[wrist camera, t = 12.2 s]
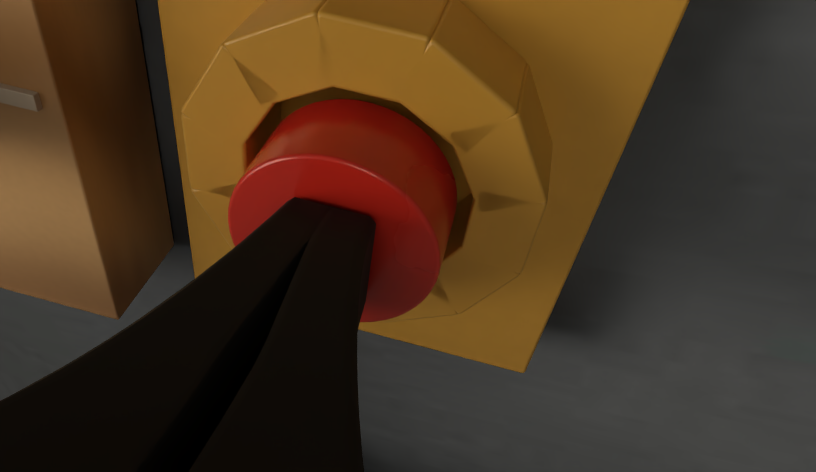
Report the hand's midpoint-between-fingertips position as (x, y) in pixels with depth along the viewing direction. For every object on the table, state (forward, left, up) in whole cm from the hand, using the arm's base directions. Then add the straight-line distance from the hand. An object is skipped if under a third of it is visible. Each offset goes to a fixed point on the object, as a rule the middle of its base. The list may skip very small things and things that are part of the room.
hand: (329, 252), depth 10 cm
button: (0, 0, -2) cm, 2 cm away
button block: (0, 0, -5) cm, 5 cm away
